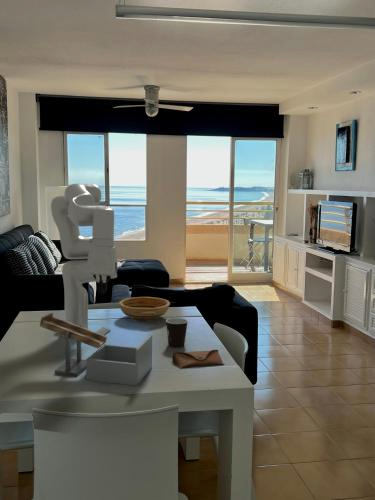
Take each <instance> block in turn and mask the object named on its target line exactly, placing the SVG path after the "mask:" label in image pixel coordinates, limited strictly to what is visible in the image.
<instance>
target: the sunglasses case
mask: <svg viewBox="0 0 375 500" xmlns="http://www.w3.org/2000/svg"><path fill="white" fill-rule="evenodd" d="M172 362H173V364H174V365H175V366H176V367H177V368H178V369H180V370H182V369H183V370H184V369H187V368H188V369H189V368H198V367H209V366H211V367H212V366H224V365H225V363H223V361H222V358H221V356H220V353H219V350H218V349H212V350H197V351H196V350H195V351H186V352H185V351H178V352H177V351H175V352H174V353H173V355H172Z"/></svg>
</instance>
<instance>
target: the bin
mask: <svg viewBox="0 0 375 500" xmlns="http://www.w3.org/2000/svg"><path fill="white" fill-rule="evenodd" d="M85 360H86V369H85V372H86V373H85V375H86V376H85V377H86V381H92V382H101V383H110V384H119V385H128V386H133V387H134V386H135V387H138V386H139V385H140V384H141V383H142V381H143V380H144V379H145V377H147V375H148V374H149V372H150V371H152V368H153V334H150V335H148V337H146V339H144V341H142V342H141V344H140V345H139V346H138V347H135V346H125V345H116V344H115V345H114V344H106V343H104V344H103V345H102V346H101V347H99V348H97V350H95V352H93V353H92V354H91V355H89V357H87V358H86V359H85ZM125 362H128V363H125Z"/></svg>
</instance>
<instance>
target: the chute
mask: <svg viewBox="0 0 375 500" xmlns="http://www.w3.org/2000/svg"><path fill="white" fill-rule="evenodd" d="M39 327H41V328H44V329H46V330H49V331H51V332H54V333H57V334H58V335H60V336H62V335H64V336H65V333H66V332H70V339H72V340H75V341H76V342H77V341H80V342H81V344H85V345H88V346H90V347H93V348H95V349H100V348H101V347H102V346H103V345H104V344H106V342H107V339H108V336H106V335H108V334H109V333H110V332H111V329H109V328H108V327H107V328H106V327H104V326H102V327H101V328H100V329H98V330H97V331H93V330H92V329H90V330H88V329H89V328H88V329H86V328H83V327H80V326H78V325H75V324H72V323H70V322H67V321H65V319H61V318H58V317H57V316H54V313H53V312H49V313H48V314H46V315H44V316H41V319H40V322H39Z"/></svg>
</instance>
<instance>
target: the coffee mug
mask: <svg viewBox="0 0 375 500" xmlns="http://www.w3.org/2000/svg"><path fill="white" fill-rule="evenodd" d="M165 325H166V334H167V343H168V346H169V347H170V348H173V347H174V348H175V349H178V348H183V347H185V342H186V336H187V329H188V319H186V318H182V317H181V318H180V317H171V318H168V319H166V320H165Z"/></svg>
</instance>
